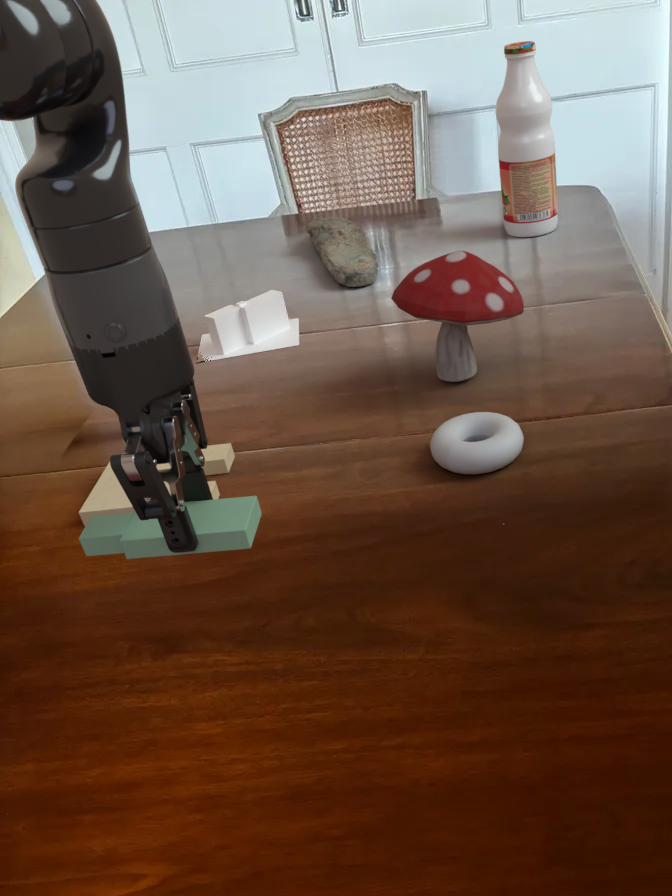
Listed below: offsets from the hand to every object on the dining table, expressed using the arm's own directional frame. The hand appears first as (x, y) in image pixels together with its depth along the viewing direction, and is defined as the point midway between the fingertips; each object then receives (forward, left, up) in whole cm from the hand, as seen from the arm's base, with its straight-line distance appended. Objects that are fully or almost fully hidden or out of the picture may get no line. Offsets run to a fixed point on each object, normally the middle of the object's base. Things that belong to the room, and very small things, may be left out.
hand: (193, 528), depth 71 cm
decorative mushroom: (+21, +46, -11) cm, 52 cm away
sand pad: (-13, +25, -10) cm, 30 cm away
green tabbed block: (-2, 0, -1) cm, 2 cm away
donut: (+22, +25, -11) cm, 35 cm away
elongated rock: (0, +100, -11) cm, 101 cm away
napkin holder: (-11, +67, -11) cm, 69 cm away
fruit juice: (+33, +103, -11) cm, 109 cm away
